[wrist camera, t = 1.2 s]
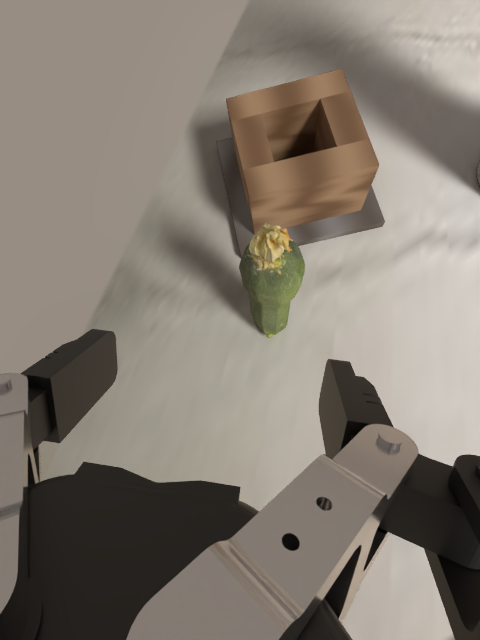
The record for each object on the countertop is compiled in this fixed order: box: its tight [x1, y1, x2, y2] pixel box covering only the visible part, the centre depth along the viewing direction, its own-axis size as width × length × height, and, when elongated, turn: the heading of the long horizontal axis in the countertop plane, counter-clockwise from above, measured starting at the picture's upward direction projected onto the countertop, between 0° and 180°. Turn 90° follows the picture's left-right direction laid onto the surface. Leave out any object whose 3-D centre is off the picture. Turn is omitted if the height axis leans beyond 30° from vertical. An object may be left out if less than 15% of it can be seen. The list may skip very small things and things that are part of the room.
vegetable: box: [239, 223, 305, 338], centre depth 26 cm, size 4×4×20 cm
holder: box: [216, 69, 385, 258], centre depth 36 cm, size 16×16×8 cm
